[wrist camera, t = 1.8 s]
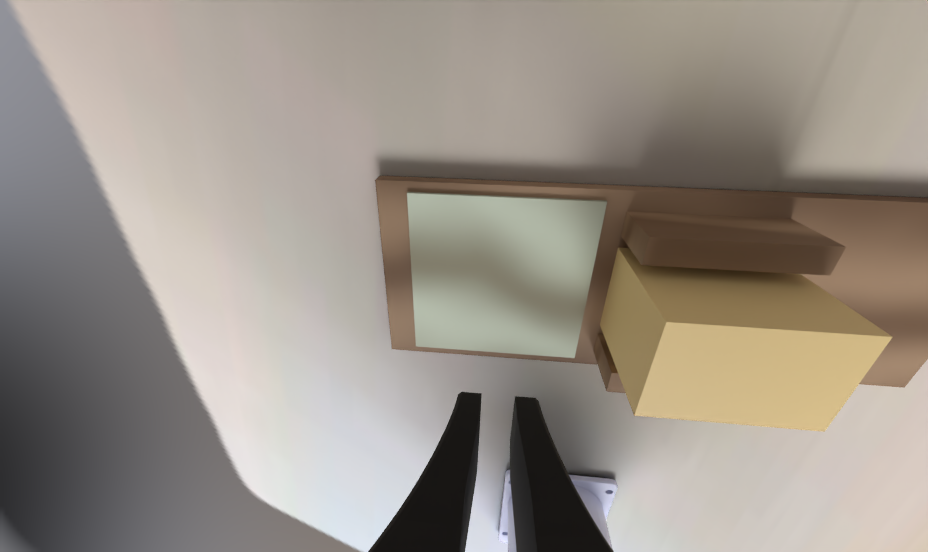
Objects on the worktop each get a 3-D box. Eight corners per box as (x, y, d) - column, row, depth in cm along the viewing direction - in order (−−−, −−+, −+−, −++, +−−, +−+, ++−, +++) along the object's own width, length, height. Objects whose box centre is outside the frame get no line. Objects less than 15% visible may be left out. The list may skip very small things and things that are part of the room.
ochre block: (737, 333, 19) (824, 431, 14) (599, 324, 20) (634, 415, 15) (774, 255, 17) (892, 337, 12) (618, 247, 18) (666, 322, 12)
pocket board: (890, 376, 21) (964, 435, 17) (395, 340, 23) (377, 386, 19) (1025, 201, 16) (1163, 236, 12) (380, 175, 18) (352, 199, 15)
